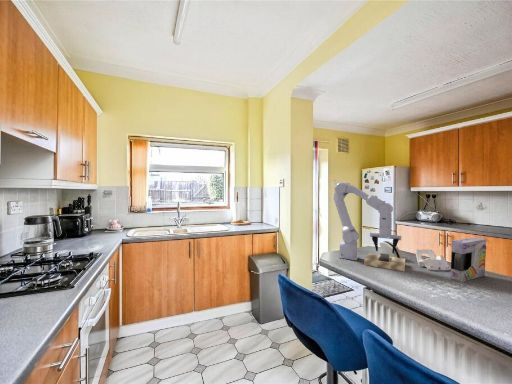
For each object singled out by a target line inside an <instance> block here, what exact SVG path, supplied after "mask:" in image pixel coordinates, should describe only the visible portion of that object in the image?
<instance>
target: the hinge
mask: <svg viewBox="0 0 512 384" xmlns="http://www.w3.org/2000/svg"><path fill="white" fill-rule="evenodd" d="M379 246H380V249H381V253H384V254H389V257H396V258H403V259H405V260H406V257H404V256H402V253H401V252H400V249H399V247H398V246H397V245H396V247H395V250H394V254H393V253H392V251H393V241H390V240H384V241H380V242H379Z"/></svg>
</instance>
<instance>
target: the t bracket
mask: <svg viewBox="0 0 512 384" xmlns="http://www.w3.org/2000/svg"><path fill="white" fill-rule="evenodd" d="M379 255H380V261H386V262H389V254H384V253H382V252H380V254H379Z"/></svg>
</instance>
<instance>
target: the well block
mask: <svg viewBox="0 0 512 384" xmlns="http://www.w3.org/2000/svg"><path fill="white" fill-rule="evenodd" d="M364 266H367V267H368V266H370V267H376V268H380V269H388V270H393V271H399V272H405V269H406V258H405V259H403V258H396V257H389V262H386V261H380V254H372V253H368V254H367V255H366V257H365V258H364Z"/></svg>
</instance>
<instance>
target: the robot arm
mask: <svg viewBox="0 0 512 384" xmlns="http://www.w3.org/2000/svg"><path fill="white" fill-rule="evenodd" d="M349 194H354V195H355V196H357V197H359V198H360V199H362V200H365V202H366V205H368V206H369V207H371V208H373V209H374V210H375V211H378V214H379V221H378V222H379V223H378V224H379V228H378V230H379V232H378V233H377V232H375V233H374V232H370V233H369V237H370V238H371V240H372V242H373V245H374V247H375V251H376V252H378V250H379V246H378V245H379V238H380V239H386V240H387V239H388V240H392V243H393V251H392V253H393V254H394V250H395V247H396V246H397V245H398V243H399V241H402V235H397V234H392V223H393V222H392V221H393V218H392V215H393V214H392V213H393V211H394V207H393V205H391V204H390V203H389V202H386V201H385V200H382V199H380V198H379V197H378V196H377V195H369V194H368V193H366V192H364V191H363V190H361V189H360V188H358V187H357V186H356V185H354V184H351V183H349V182H343V181H342V182H338V183H337V184H336V185H335V187H334V196H333V201H334V204H335V207H336V210H337V213H338V217H339V220H340V223H341V226H342V229H341V233H342V240H343V241H340V242H339V258H340V259H344V260H352V261H357V260H358V259H359V258H360V256H359V255H358V241H357V240H359V236H360V235H359V232H358V231H357V230H356V228H355V226H354V225H353V224H352V221H351V217H350V214H349V212H348V208H347V205H346V202H345V198H346V196H347V195H349Z"/></svg>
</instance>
